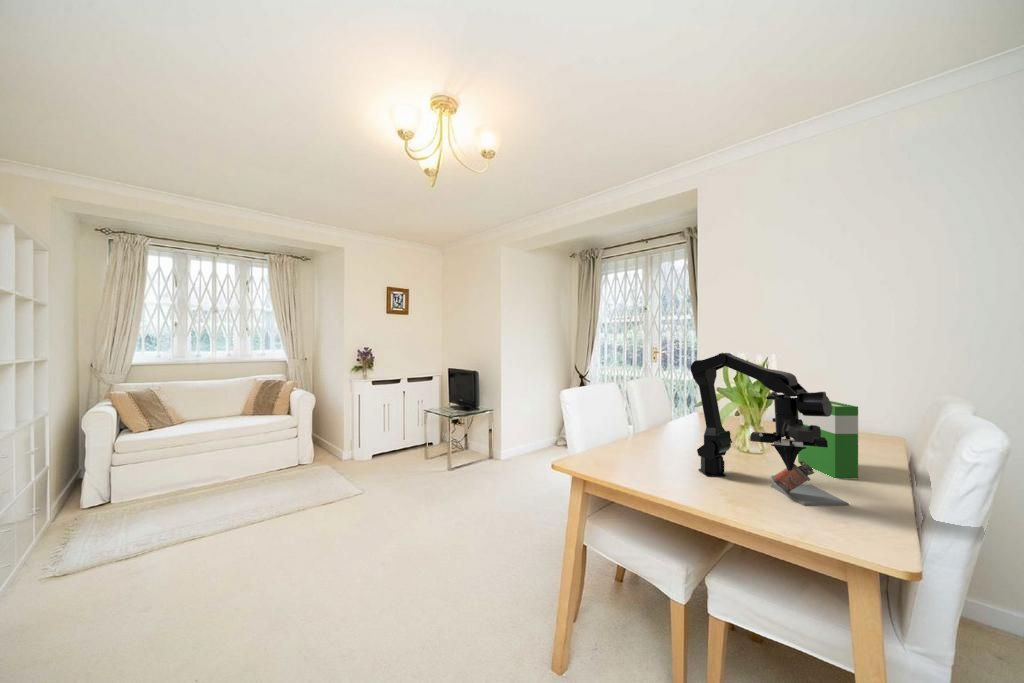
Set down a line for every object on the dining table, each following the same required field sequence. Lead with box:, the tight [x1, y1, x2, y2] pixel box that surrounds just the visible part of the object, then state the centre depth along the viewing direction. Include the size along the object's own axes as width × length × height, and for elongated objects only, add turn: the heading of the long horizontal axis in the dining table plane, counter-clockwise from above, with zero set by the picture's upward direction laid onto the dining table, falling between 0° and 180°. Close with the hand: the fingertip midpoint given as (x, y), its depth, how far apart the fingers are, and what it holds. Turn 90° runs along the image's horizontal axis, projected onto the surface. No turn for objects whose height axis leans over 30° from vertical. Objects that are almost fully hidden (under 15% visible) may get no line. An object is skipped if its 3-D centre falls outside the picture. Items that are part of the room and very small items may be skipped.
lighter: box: [770, 461, 815, 494], centre depth 114 cm, size 8×3×10 cm
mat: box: [770, 483, 850, 506], centre depth 116 cm, size 12×14×1 cm
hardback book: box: [797, 400, 859, 479], centre depth 138 cm, size 18×7×24 cm, turn 178°
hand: (789, 470), depth 112 cm, fingers closed
